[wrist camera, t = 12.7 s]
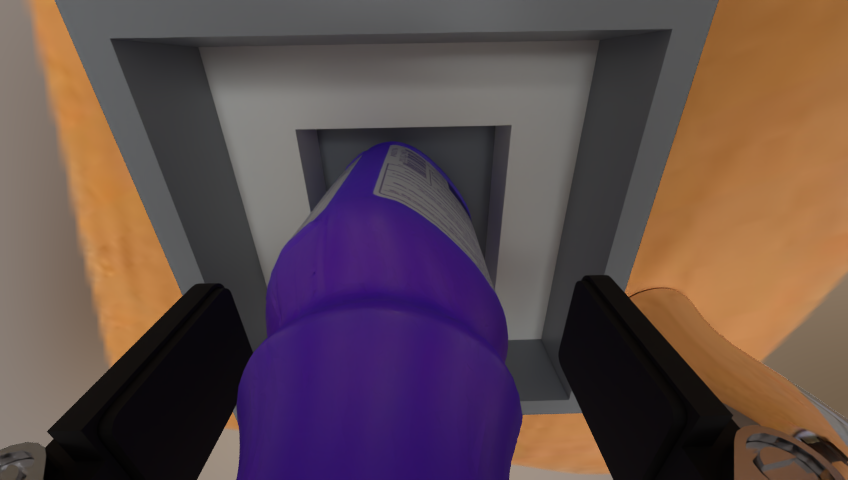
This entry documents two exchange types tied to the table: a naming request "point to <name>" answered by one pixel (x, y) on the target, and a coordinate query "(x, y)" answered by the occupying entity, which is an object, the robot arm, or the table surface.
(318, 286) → the bottle
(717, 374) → the beer glass
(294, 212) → the bore box
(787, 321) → the table surface
